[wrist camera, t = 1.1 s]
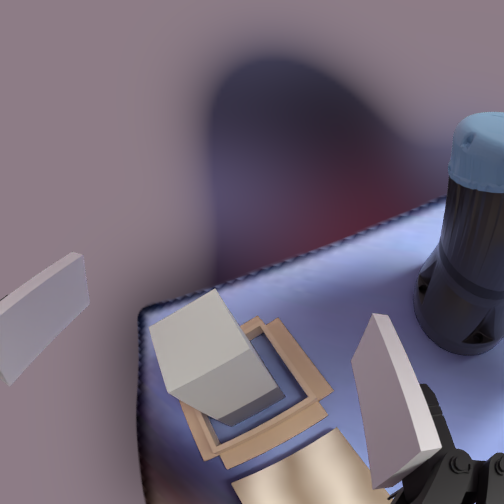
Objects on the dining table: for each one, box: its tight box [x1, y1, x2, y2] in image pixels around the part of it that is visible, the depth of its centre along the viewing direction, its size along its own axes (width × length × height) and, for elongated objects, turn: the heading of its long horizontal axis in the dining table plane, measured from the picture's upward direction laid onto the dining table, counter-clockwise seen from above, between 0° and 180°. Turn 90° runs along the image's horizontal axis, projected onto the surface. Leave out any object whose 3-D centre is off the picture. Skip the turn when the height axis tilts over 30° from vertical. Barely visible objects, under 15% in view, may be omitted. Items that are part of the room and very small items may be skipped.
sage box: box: [149, 289, 285, 427], centre depth 25 cm, size 7×7×13 cm
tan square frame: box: [179, 316, 334, 469], centre depth 29 cm, size 16×16×2 cm
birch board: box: [231, 427, 393, 504], centre depth 17 cm, size 12×11×2 cm
